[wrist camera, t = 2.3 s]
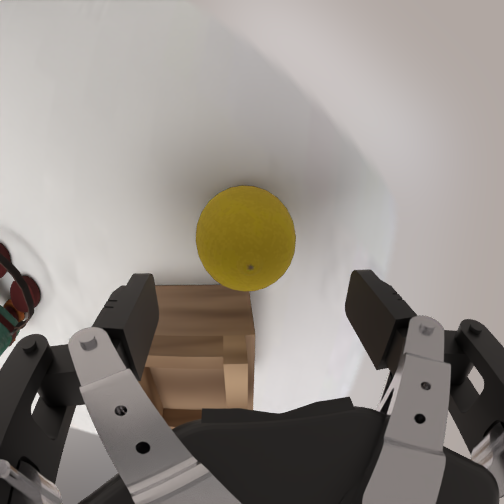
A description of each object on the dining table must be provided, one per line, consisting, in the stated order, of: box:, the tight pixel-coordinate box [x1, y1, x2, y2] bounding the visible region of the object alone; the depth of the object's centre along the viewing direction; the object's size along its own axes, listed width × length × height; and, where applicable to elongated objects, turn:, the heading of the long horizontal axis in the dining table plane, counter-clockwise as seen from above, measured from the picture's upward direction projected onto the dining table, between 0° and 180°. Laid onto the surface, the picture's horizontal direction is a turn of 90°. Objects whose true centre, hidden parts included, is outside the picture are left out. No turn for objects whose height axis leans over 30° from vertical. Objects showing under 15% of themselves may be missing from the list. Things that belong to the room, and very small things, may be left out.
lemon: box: [196, 186, 296, 291], centre depth 16 cm, size 6×6×8 cm
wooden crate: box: [138, 285, 255, 429], centre depth 20 cm, size 9×9×8 cm
